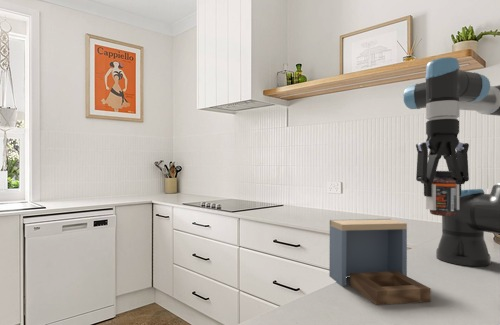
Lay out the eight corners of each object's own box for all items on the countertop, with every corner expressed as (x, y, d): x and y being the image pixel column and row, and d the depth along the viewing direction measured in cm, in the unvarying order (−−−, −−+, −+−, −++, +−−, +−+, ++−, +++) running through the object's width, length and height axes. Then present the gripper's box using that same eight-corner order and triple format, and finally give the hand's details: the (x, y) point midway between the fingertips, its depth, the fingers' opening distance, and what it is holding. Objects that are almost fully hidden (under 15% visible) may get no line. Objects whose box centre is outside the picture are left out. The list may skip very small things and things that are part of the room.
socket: (396, 282, 91) (396, 271, 91) (430, 301, 78) (430, 288, 78) (350, 284, 88) (350, 273, 88) (376, 304, 76) (376, 291, 76)
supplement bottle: (426, 214, 89) (425, 170, 89) (434, 212, 93) (433, 170, 93) (452, 217, 85) (451, 171, 85) (459, 214, 89) (458, 170, 89)
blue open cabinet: (389, 273, 98) (389, 218, 99) (406, 282, 90) (406, 223, 91) (329, 276, 95) (329, 219, 96) (341, 286, 88) (341, 224, 88)
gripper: (463, 122, 95) (463, 207, 94) (400, 120, 92) (400, 208, 91) (486, 118, 87) (487, 210, 87) (418, 116, 84) (418, 211, 84)
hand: (442, 209), depth 89 cm, fingers closed on supplement bottle, 6 cm apart
